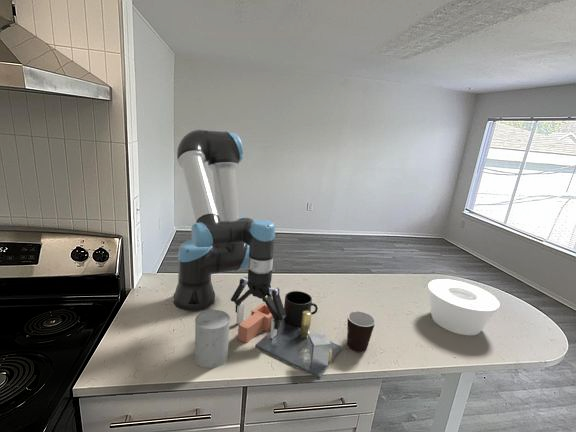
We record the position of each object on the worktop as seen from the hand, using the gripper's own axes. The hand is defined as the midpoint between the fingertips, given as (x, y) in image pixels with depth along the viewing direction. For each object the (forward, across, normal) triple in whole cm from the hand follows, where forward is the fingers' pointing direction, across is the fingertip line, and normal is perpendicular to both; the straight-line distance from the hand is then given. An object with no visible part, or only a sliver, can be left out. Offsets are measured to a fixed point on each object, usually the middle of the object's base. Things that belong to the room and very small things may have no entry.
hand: (256, 329), depth 108 cm
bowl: (+1, +57, +52) cm, 77 cm away
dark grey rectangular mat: (+1, +16, +1) cm, 16 cm away
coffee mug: (+1, +30, +15) cm, 34 cm away
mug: (+1, +8, +15) cm, 17 cm away
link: (+1, 0, +1) cm, 2 cm away
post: (+1, +14, +7) cm, 16 cm away
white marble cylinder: (+1, -3, -18) cm, 18 cm away
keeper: (0, +23, -1) cm, 23 cm away
